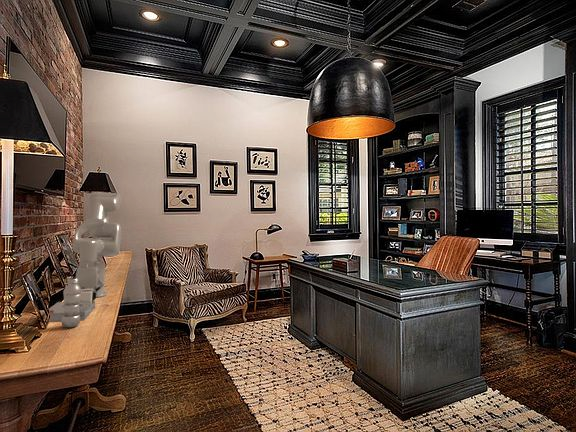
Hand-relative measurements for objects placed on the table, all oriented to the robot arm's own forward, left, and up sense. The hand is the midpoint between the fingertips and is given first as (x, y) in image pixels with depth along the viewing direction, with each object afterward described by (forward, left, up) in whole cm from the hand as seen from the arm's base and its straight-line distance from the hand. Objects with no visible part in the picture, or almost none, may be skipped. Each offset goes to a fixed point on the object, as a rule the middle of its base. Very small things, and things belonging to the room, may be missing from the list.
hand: (86, 299), depth 179 cm
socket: (+15, -3, -3) cm, 16 cm away
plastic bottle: (+34, +2, -3) cm, 34 cm away
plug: (-1, 0, -3) cm, 3 cm away
